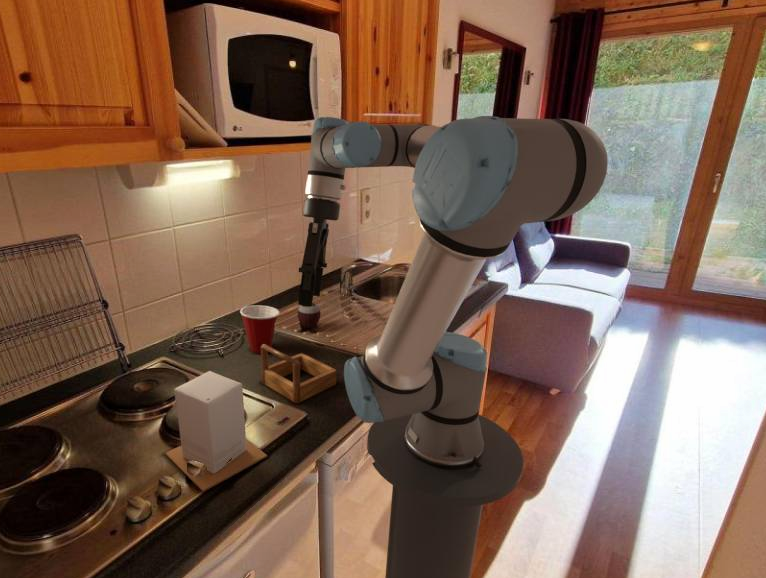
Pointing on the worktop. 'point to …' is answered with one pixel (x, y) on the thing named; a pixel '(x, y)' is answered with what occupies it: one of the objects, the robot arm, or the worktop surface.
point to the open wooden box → (296, 375)
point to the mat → (230, 469)
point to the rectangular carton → (211, 420)
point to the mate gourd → (309, 317)
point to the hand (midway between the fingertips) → (309, 300)
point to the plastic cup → (259, 325)
